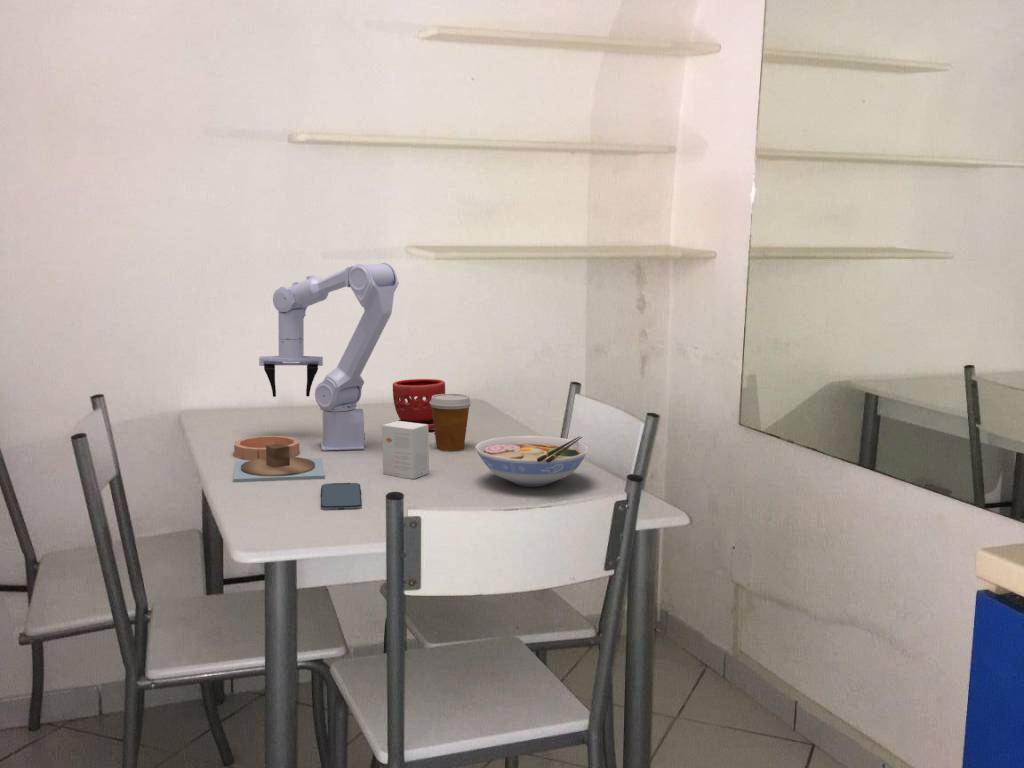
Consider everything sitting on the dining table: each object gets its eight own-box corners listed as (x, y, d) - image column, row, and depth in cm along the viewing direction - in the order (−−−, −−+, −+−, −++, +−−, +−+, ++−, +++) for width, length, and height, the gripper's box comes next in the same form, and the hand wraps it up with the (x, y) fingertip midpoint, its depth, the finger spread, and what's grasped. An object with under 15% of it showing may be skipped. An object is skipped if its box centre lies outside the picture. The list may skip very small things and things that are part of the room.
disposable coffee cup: (428, 452, 239) (428, 400, 238) (430, 443, 249) (430, 393, 247) (470, 452, 240) (471, 400, 238) (471, 444, 249) (471, 393, 247)
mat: (321, 460, 230) (321, 457, 230) (325, 478, 215) (324, 475, 215) (235, 463, 226) (235, 460, 226) (233, 482, 211) (232, 479, 211)
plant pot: (447, 423, 273) (447, 377, 271) (442, 434, 260) (443, 385, 258) (396, 422, 273) (396, 376, 271) (389, 433, 260) (389, 384, 258)
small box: (429, 474, 220) (429, 424, 218) (413, 479, 215) (413, 428, 213) (398, 469, 224) (398, 420, 222) (382, 474, 219) (381, 424, 217)
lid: (293, 456, 231) (292, 435, 231) (328, 469, 220) (327, 447, 219) (228, 465, 222) (227, 444, 221) (261, 480, 210) (261, 457, 210)
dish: (298, 445, 245) (298, 434, 244) (300, 459, 231) (299, 448, 231) (235, 447, 242) (235, 436, 241) (233, 461, 228) (233, 450, 228)
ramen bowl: (501, 464, 230) (502, 427, 228) (603, 474, 221) (604, 436, 220) (453, 491, 207) (454, 449, 205) (565, 504, 198) (566, 461, 197)
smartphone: (320, 506, 192) (321, 483, 206) (320, 515, 192) (321, 491, 206) (362, 505, 193) (360, 482, 207) (362, 514, 193) (360, 490, 208)
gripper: (321, 336, 253) (321, 392, 255) (259, 336, 250) (259, 392, 252) (323, 340, 246) (323, 398, 249) (258, 340, 243) (259, 398, 245)
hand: (291, 395), depth 250 cm, fingers open, 7 cm apart
